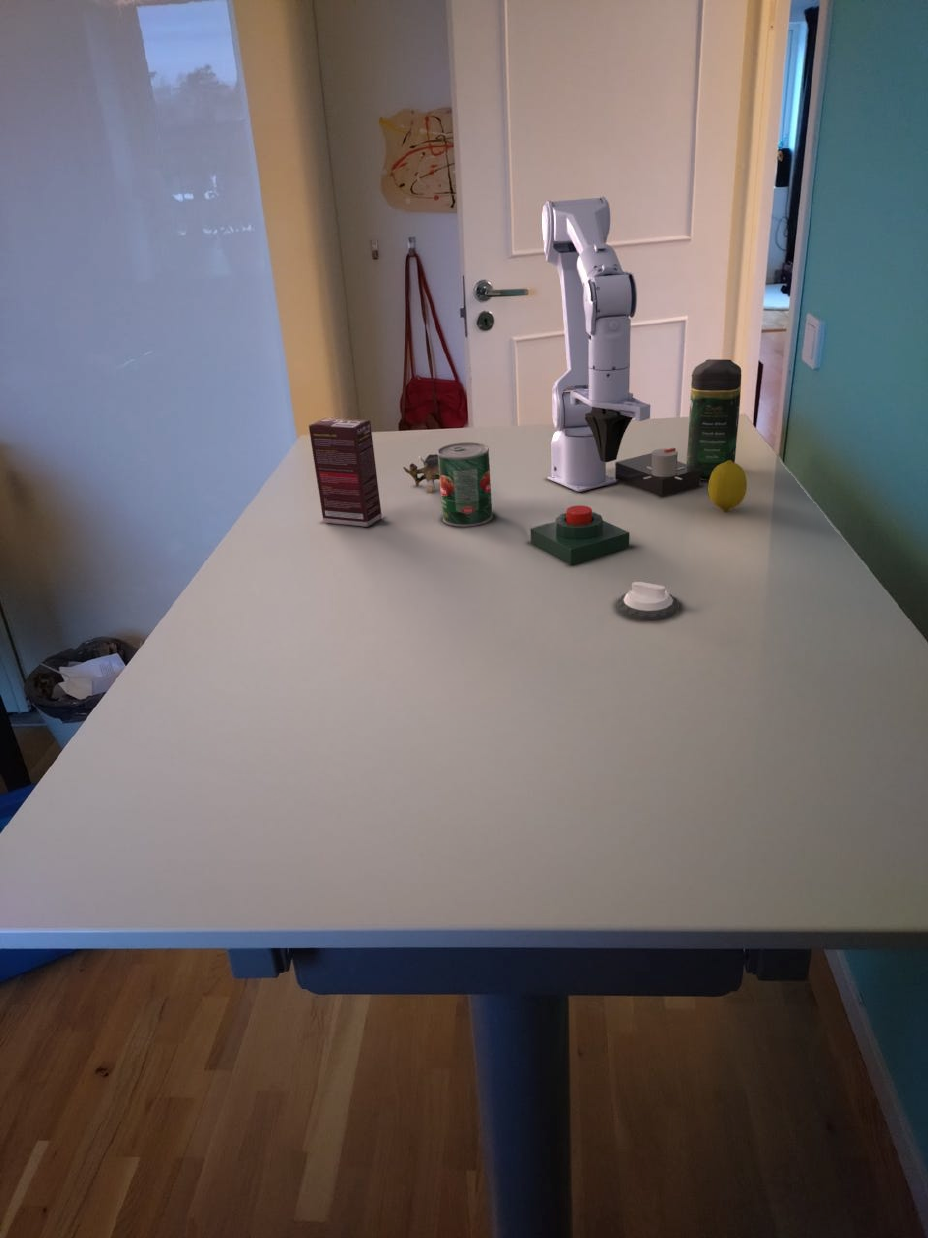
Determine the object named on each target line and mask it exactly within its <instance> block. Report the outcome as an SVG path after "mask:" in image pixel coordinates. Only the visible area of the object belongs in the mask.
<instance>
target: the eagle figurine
mask: <svg viewBox="0 0 928 1238" xmlns="http://www.w3.org/2000/svg"><path fill="white" fill-rule="evenodd" d="M418 459H419V460H420V461H421V462H422V464H423V467H421V468H419V467H418V466H417V465H416V464H414V463H413V462H412V463H410V464H409V468H406V466H403V470H404V471H405V473H406V474H408V475H410V476H411V477H412V479H413V480H414V482H415V487H419V484H420V483H421V482H423V481H424V480H426V482H427V484H428V487H429V493H432V492H433V491H434V489H435V481H436V480H438V481H440V476H439V464H438V454H437V453H435V454H429V455H428V456H426V457H425V459H423V458H422V456H421V455H418ZM419 474H422V475H420V476H418V475H419Z"/></svg>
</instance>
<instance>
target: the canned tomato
mask: <svg viewBox="0 0 928 1238" xmlns="http://www.w3.org/2000/svg"><path fill="white" fill-rule="evenodd" d="M489 451H490V447H489V446H488V445H487V444H484V443H481V442H468V441H467V442H463V441H462V442H455V443H450V444H447V445H444V446H441V447H439V448H438V449H437V451H436V454H438V464H439V476H440V480H439V485H440V487H439V488H440V499H441V511H442V521H443V522H444V523H445V524H446V525H449V526H452V527H458V528H469V527H470V528H471V527H476V526H477V527H478V526H481V525H484V524H486V523H489V522H490V521H491V520H492V519H493V517H494V514H493V502H492V500H493V499H492V487H491V486H492V484H491V469H490V468H491V466H490V453H489Z"/></svg>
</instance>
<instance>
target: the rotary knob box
mask: <svg viewBox="0 0 928 1238" xmlns="http://www.w3.org/2000/svg"><path fill="white" fill-rule="evenodd" d="M614 469H615V470H614V471H615V473H614V474H615V475H614V476H615V478H614V479H616V480H617V481H619V482H622V483H624V484H627V485H630V486H631V487H635V488H638V489H641V490H643V491H645V492H648V493H650V494H652V495H656V496H658V497H660V498H664V497H668V496H671V495H675V494H679V493H682V492H685V491H688V490H692V489H696V488H700V487H701V479H700V476H701V469H699V468H696V467H693V466H690V465H687V463H684V462H682V461H678V460H677V474H676V475H674V476H671V477H657V476H654V475H652V473H651V469H652V452H651V453H650V452H649V453H646V454H642V455H638V456H635V457H631V458H626V459H623V460H622V459H621V460H618V461H615V468H614Z"/></svg>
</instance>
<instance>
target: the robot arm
mask: <svg viewBox="0 0 928 1238" xmlns="http://www.w3.org/2000/svg"><path fill="white" fill-rule="evenodd" d="M542 206H543V207H542V213H541V225H542V240H543V250H544V255H545V261H546V262H547V263H549V264H550V265H553V266H555V267H556V270H557V274H558V278H559V283H560V294H561V306H562V319H563V331H564V332H563V333H564V345H565V357H566V368H567V370H566V371H565V372H564V373H563V374H562V375H561V376H560V377H559V378H557V380H555V382H554V383H553V386H552V389H551V395H552V400H551V414H552V415H551V416H552V422H553V426H554V429H556V430H555V432H554V433H553V436H552V438H551V443H550V448H551V449H550V457H551V458H550V459H551V474H549V475H548V476H547V479H548V480H550V481H552V482H554V483H557V484H559V485H561V486H564V487H566V488H568V489H570V490H573V491H575V492H577V493H582V492H585V491H589V490H593V489H597V488H600V487H605V486H608V485H613V484H616V483H617V482H618V480H617V479H615V478H614V477H611V476H608V475H607V471H606V470H607V463H610V462H613V461H616V460H617V458H618V454H619V450H620V448H621V444H622V441H623V438H624V436H625V433H626V431H627V428H628V427H629V425H630V423H631V422H632V421H633V418H634V420H635V421H638V422H642V421H645V420H649V419H651V404H649V403H646V402H643V401H641V400H639V399H637V398H635V397H634V393H633V392H631V391H630V383H631V382H630V381H631V380H630V378H631V377H630V376H631V373H630V372H631V370H630V369H631V329H632V328H631V324H632V319H633V318H634V317H635V315H636V312H637V307H638V305H637V304H638V289H637V282H636V279H635V276H634V273H632V272H631V271H630V272H629V271H623V268H622V266H621V263H620V261H619V258H618V256H617V253H616V250H615V249H614V248H613V247H612V245H609V244H607V241H608V236H609V234H610V231H611V230H610V229H611V208H610V207H611V206H610V203H609V201H608V200H607V198H606V197H605V196H599V197H592V198H581V199H568V200H557V201H552V200H547V201H546V202H545V203H544V205H542Z"/></svg>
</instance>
